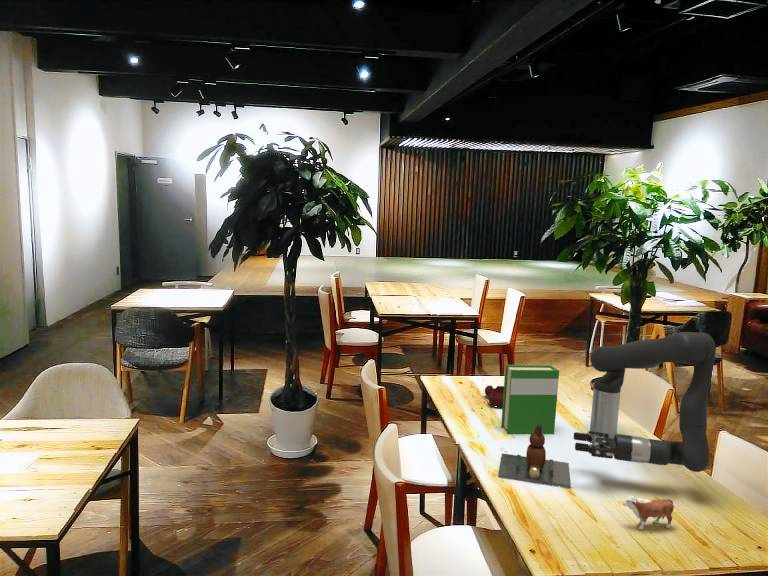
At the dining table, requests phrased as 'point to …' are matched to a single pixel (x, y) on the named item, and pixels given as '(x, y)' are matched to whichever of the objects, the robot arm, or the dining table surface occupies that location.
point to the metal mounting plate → (534, 471)
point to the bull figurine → (650, 509)
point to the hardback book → (529, 398)
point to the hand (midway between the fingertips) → (574, 440)
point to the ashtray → (495, 395)
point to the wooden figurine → (536, 448)
